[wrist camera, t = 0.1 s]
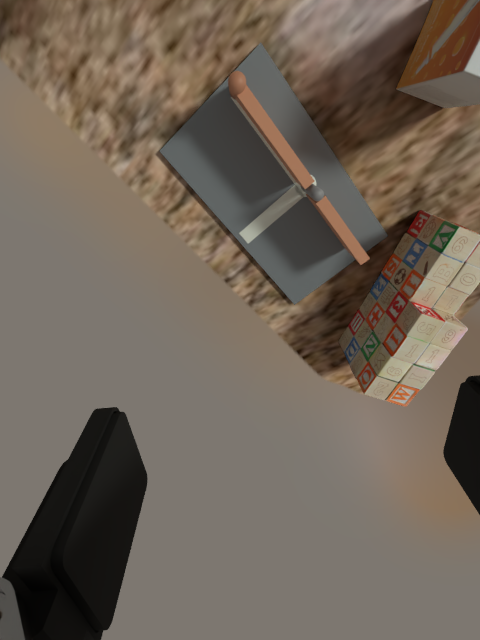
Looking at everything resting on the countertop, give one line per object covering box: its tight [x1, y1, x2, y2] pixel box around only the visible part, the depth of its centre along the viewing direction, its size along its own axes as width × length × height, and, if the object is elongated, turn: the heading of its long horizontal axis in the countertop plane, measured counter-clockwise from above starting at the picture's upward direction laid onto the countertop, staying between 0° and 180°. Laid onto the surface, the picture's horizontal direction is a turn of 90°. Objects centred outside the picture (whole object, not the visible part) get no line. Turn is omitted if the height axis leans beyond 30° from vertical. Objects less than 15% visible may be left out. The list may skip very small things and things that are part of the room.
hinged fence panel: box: [301, 184, 370, 265], centre depth 39 cm, size 10×1×7 cm, turn 41°
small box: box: [396, 0, 480, 108], centre depth 30 cm, size 8×6×13 cm
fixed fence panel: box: [228, 71, 315, 189], centre depth 35 cm, size 12×2×7 cm, turn 41°
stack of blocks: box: [339, 210, 480, 406], centre depth 43 cm, size 21×6×12 cm, turn 160°
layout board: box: [160, 43, 388, 305], centre depth 42 cm, size 26×15×1 cm, turn 41°
